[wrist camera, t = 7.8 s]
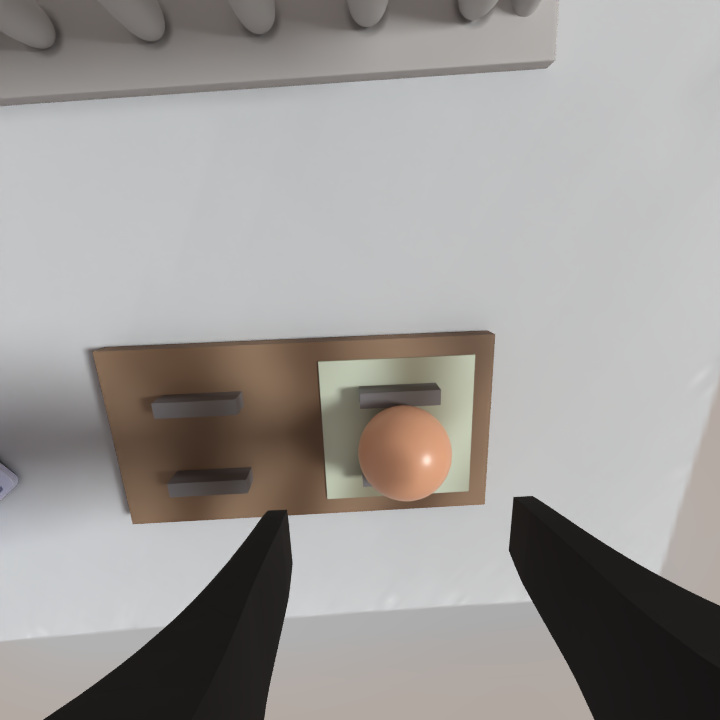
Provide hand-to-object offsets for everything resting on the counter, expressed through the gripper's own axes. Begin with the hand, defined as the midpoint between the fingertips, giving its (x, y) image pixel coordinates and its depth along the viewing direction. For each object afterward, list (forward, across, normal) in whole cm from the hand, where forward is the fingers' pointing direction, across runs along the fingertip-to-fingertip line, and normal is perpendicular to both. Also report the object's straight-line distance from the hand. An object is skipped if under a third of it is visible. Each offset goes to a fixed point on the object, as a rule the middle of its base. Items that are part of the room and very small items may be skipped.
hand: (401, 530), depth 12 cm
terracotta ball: (+6, -1, +1) cm, 6 cm away
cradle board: (+9, +4, +1) cm, 10 cm away
